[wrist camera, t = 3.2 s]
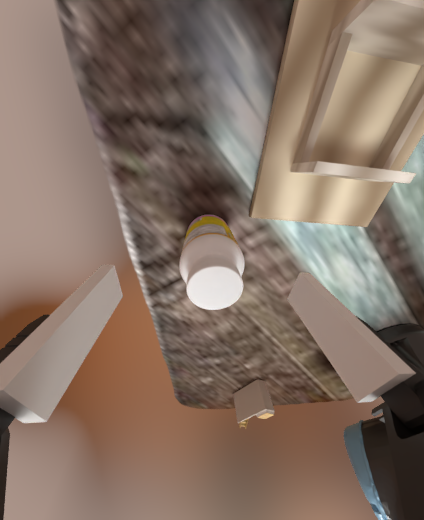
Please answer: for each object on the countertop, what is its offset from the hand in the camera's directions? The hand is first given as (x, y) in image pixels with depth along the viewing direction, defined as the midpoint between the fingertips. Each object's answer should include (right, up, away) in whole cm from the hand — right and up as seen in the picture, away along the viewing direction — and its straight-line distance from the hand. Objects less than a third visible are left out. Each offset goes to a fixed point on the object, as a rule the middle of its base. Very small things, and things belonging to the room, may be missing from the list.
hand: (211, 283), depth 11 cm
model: (+11, -36, +35) cm, 51 cm away
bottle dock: (+14, +16, +4) cm, 21 cm away
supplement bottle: (0, +5, +10) cm, 11 cm away
